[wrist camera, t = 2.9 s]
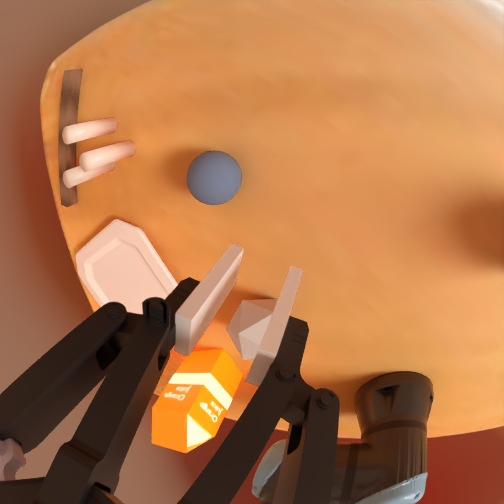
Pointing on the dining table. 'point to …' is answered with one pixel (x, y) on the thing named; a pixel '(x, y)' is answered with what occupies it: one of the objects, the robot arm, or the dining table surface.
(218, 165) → the ball
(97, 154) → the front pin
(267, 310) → the die
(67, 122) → the board
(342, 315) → the dining table surface
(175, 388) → the orange juice
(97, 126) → the pin
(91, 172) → the pin
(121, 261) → the plate
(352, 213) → the dining table surface
